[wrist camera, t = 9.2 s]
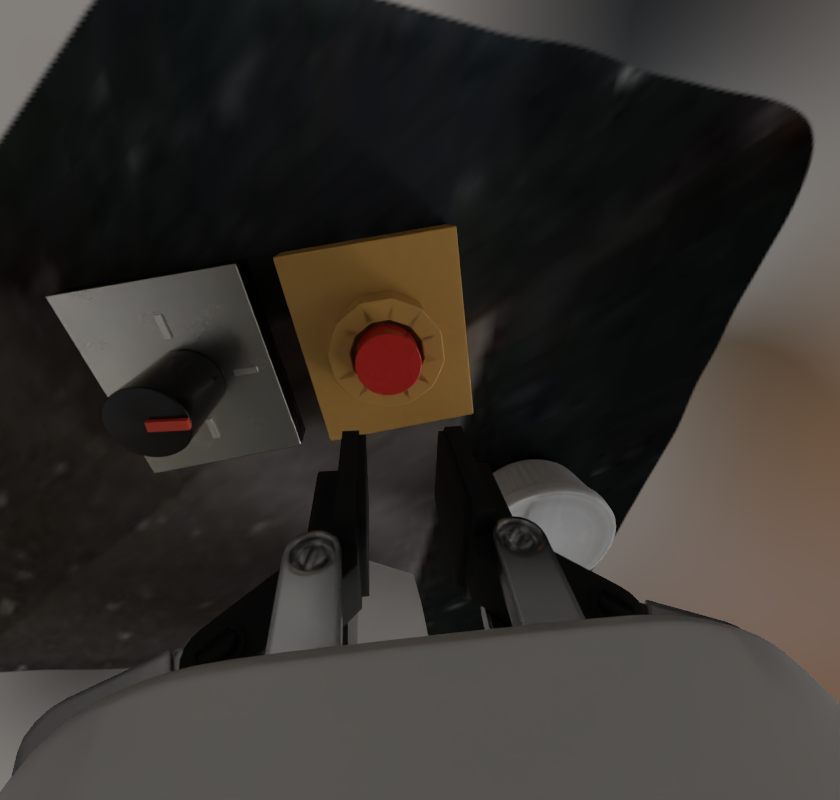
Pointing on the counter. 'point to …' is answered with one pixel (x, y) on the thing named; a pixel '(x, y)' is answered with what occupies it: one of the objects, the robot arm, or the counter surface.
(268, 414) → the dial plate
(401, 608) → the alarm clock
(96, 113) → the counter surface
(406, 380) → the press knob
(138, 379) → the dial
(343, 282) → the knob block
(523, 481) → the ramekin
